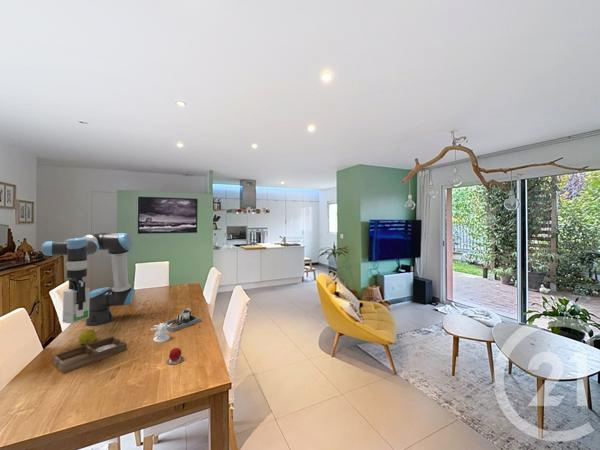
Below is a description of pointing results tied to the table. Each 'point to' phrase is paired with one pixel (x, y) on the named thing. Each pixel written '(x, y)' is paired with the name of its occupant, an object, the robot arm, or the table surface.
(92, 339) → the lemon
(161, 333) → the figurine
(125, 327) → the table surface
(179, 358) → the red push button
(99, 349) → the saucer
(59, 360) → the divided wooden tray
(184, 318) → the camera
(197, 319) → the valet frame
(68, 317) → the skincare box
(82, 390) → the table surface
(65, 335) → the table surface
